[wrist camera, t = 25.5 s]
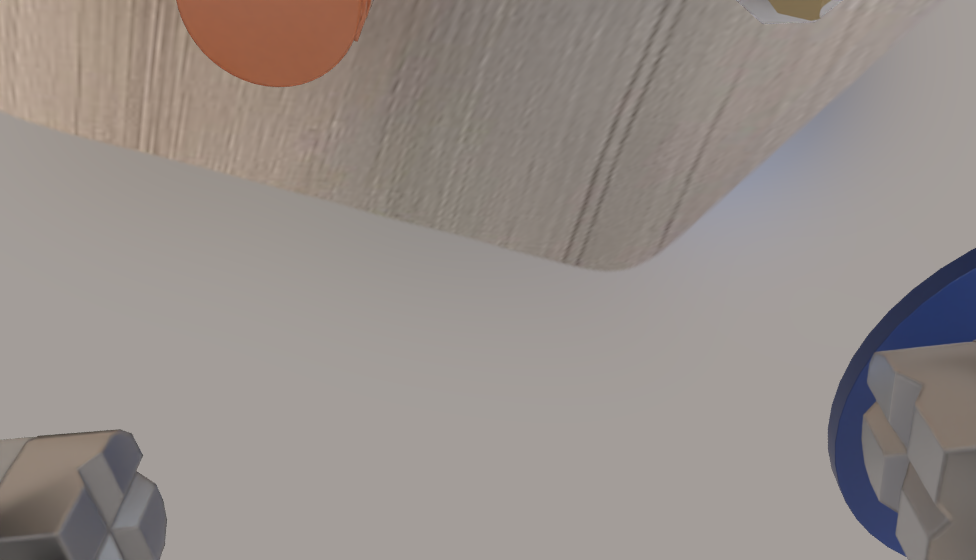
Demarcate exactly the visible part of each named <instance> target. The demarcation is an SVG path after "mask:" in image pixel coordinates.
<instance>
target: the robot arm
mask: <svg viewBox="0 0 976 560" xmlns="http://www.w3.org/2000/svg"><path fill="white" fill-rule="evenodd" d="M867 384H868V386H869V388H870V389H871V391H872V393H873V395H874V397H875V399H876V400H877V401H876V402H875V403H874V404H873V405H872V406H871V407H870V408H869V409H868V410H867V411H866V413H865V414H864V415H863V424H862V438H861V440H862V448H863V456H864V463H865V467H866V470H867V473H868V477H869V480H870V483H871V485H872V487H873V489H874V491H875V494H876V496H877V498H878V500H879V502H881V503H883V504H884V505H886V506H887V507H889V508H890V509H892V510H893V511H895V512H897V513H898V518H897V525H896V533H895V535H896V537H897V539H898V541H899V543H900V545H901V547H902V549H903V551H904V553H905V555H906V557H907V559H908V560H976V340H973V341H972V342H962V343H953V344H944V345H935V346H925V347H916V348H907V349H898V350H889V351H879V352H874V354H873V356H872V358H871V361H870V363H869V369H868V377H867ZM142 456H143V455H142V453H141V451H140V449H139V447H138V445H137V443H136V441H135V439H134V437H133V435H132V434H131V433H129V432H126V431H123V430H106V431H94V432H82V433H70V434H56V435H44V436H37V437H27V438H15V439H4V440H0V560H160V557H161V554H162V551H163V549H164V546H165V536H166V524H167V518H166V513H165V508H164V502H163V499H162V497H161V494H160V492H159V490H158V487H157V485H156V484H155V483H153V482H152V481H150V480H149V479H147V478H146V477H144V476H143V475H142V474H140V473H139V472H137V468H138V466H139V464H140V461H141V459H142Z"/></svg>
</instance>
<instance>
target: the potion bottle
mask: <svg viewBox="0 0 976 560" xmlns="http://www.w3.org/2000/svg"><path fill="white" fill-rule="evenodd" d="M736 1H737V2H738V3H740V4H741V5H742V6H743V7H744V8H745V9H746V10H747V11H749V12H750V13H751V14H752V15H753V16H754V17H755V18H756V19H758V20H759V21H760V22H761V23H762V24H779V23H806V22H815V21H817V20H818V19H820V18H821V17H822V16H823V15H824V14H826V13H827V12H828V11H830V10H831V9H832V8H834V7H835V6H836V5H837V4H839V3H840V2H841V1H843V0H736Z"/></svg>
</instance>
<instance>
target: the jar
mask: <svg viewBox="0 0 976 560" xmlns="http://www.w3.org/2000/svg"><path fill="white" fill-rule="evenodd" d="M176 1H177V6H178V10H179V12H180V15H181V18H182V21H183V23H184V25H185V27H186V29H187V31H188V32H189V34H190V35H191V37H192V39H193V40H194V42H195V43H196V44H197V45H198V47H199V48H200V49H201V50H202V52H203V53H204V54H205V55H206V56H208V57H209V58H210V59H211V60H212V61H213V62H214V63H215V64H217V65H218V66H219V67H221V68H222V69H223V70H225V71H227V72H228V73H230V74H232V75H234V76H236V77H238V78H240V79H242V80H245V81H248V82H251V83H254V84H258V85H263V86H271V87H290V86H296V85H301V84H304V83H307V82H310V81H313V80H315V79H317V78H319V77H321V76H323V75H324V74H326V73H327V72H329V71H330V70H331V69H332V68H334V67H335V66H336V65H337V64H338V63H339V62H340V61H341V59H342V58H343V57H344V56H345V55H346V53H347V52H348V50H349V48H350V47H351V45H352V43H353V40H354V41H358V39H359V36H360V33H361V30H362V28H363V25H364V23H365V20H366V18H367V16H368V13H369V11H370V9H371V6H372V4H373V1H374V0H176Z"/></svg>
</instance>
